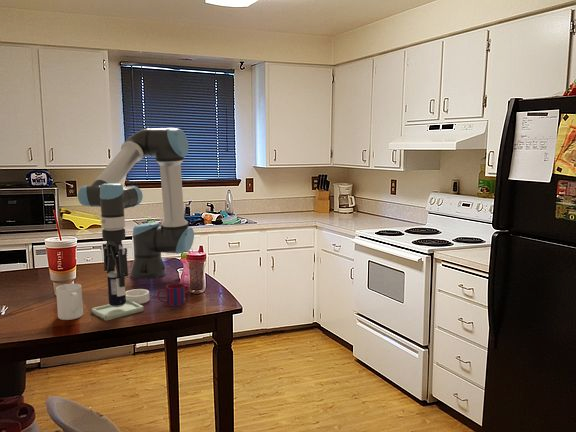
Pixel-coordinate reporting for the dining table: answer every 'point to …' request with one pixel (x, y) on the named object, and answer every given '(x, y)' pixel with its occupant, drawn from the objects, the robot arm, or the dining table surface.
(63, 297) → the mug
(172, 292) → the cup
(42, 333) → the dining table surface
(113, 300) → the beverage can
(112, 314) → the tray
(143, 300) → the white round dish
